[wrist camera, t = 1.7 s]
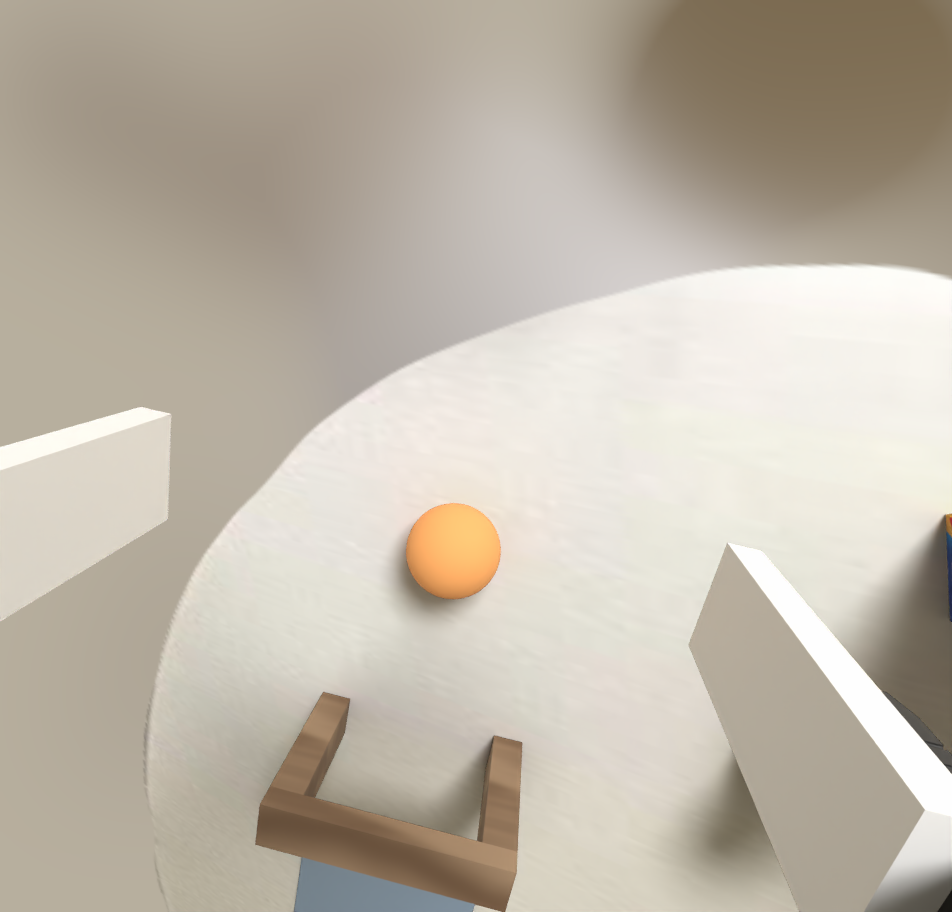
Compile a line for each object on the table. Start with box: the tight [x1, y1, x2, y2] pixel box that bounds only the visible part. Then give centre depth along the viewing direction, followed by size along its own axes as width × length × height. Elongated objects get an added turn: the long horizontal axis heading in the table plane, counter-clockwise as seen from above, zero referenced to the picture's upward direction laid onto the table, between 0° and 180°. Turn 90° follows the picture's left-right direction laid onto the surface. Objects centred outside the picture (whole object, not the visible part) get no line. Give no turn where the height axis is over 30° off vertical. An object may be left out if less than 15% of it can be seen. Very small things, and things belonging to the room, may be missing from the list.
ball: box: [406, 503, 501, 599], centre depth 32 cm, size 6×6×6 cm
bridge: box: [255, 692, 522, 912], centre depth 35 cm, size 3×14×9 cm, turn 79°
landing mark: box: [294, 857, 475, 912], centre depth 44 cm, size 14×14×1 cm
